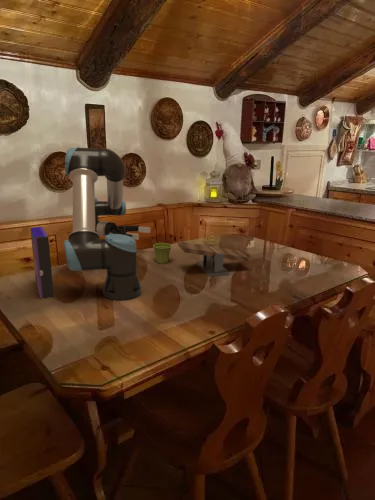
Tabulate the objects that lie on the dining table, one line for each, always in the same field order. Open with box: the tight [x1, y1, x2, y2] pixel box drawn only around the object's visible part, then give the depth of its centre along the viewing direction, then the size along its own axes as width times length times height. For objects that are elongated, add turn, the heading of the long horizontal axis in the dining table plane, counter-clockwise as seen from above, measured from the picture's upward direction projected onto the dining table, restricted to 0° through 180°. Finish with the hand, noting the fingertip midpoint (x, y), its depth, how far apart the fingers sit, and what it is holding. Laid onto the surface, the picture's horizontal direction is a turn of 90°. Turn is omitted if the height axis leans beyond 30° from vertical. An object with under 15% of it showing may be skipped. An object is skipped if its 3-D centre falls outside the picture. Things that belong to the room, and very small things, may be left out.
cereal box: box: [29, 226, 54, 300], centre depth 141 cm, size 17×5×24 cm, turn 27°
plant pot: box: [152, 242, 173, 264], centre depth 180 cm, size 9×9×9 cm
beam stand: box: [196, 244, 230, 278], centre depth 171 cm, size 18×10×10 cm, turn 17°
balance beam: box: [177, 240, 249, 262], centre depth 170 cm, size 32×12×2 cm, turn 107°
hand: (144, 233), depth 181 cm, fingers open, 13 cm apart
